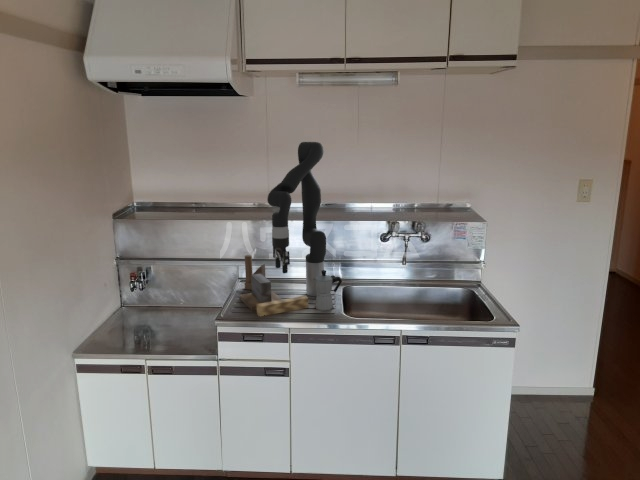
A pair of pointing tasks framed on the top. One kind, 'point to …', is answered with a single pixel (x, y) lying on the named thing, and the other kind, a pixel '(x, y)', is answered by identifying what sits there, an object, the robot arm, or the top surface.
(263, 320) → the top surface
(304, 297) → the oak bar
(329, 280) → the coffee maker
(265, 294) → the ridge stand
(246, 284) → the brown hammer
